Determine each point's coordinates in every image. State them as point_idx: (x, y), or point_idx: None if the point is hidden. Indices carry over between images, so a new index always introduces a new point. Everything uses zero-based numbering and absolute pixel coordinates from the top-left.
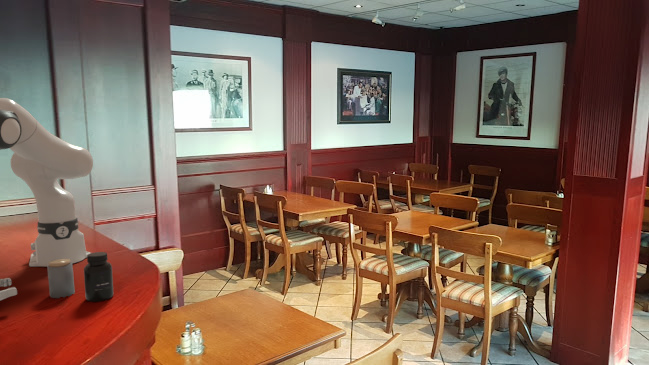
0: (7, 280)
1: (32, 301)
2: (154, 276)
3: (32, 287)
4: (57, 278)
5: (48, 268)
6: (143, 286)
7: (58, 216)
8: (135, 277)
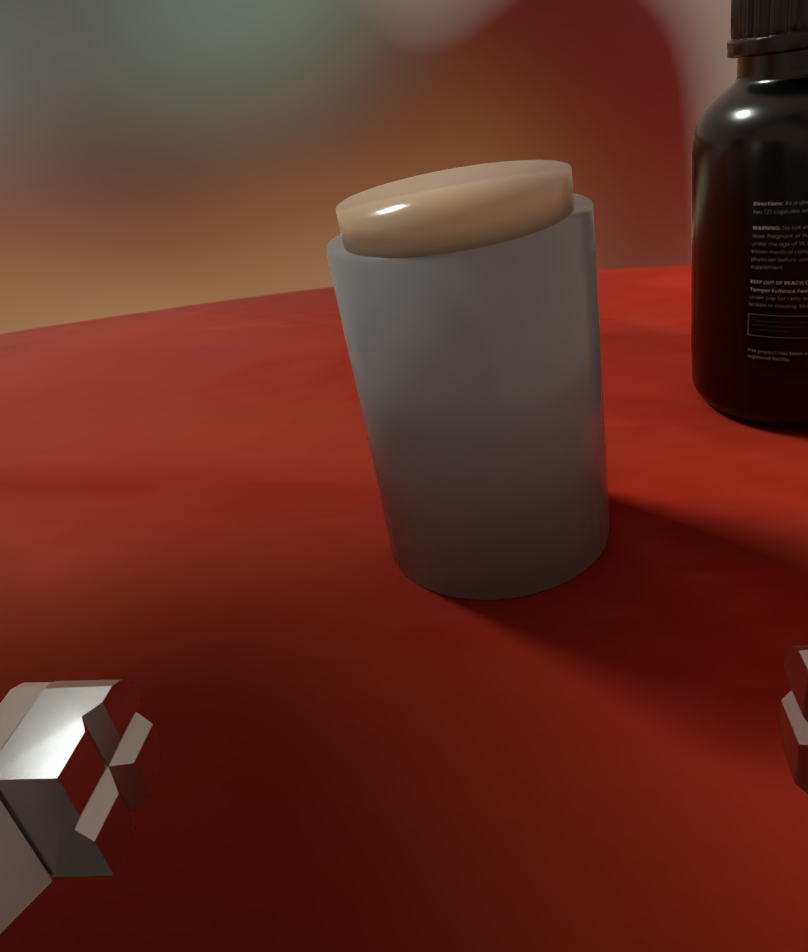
0: (95, 730)
1: (529, 738)
2: None
3: None
4: (588, 354)
5: (489, 268)
6: None
7: None
8: None
